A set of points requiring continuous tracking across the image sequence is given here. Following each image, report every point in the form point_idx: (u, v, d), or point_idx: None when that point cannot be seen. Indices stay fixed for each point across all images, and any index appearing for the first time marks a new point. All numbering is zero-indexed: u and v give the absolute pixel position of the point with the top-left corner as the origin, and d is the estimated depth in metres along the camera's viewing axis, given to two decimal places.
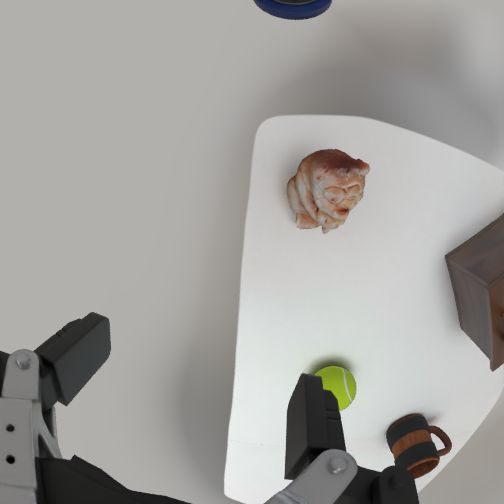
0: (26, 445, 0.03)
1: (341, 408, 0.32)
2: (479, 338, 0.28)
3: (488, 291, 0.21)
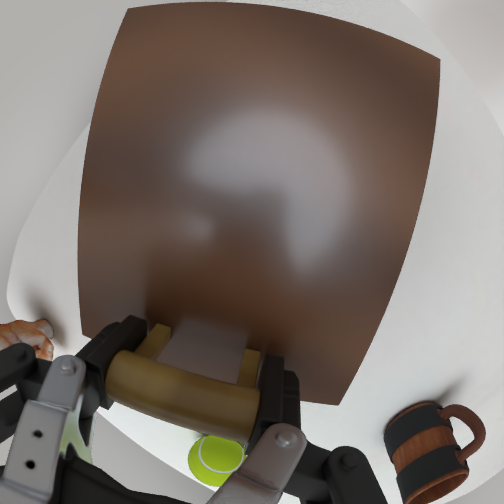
0: (51, 454, 0.03)
1: (223, 482, 0.23)
2: None
3: (84, 335, 0.13)
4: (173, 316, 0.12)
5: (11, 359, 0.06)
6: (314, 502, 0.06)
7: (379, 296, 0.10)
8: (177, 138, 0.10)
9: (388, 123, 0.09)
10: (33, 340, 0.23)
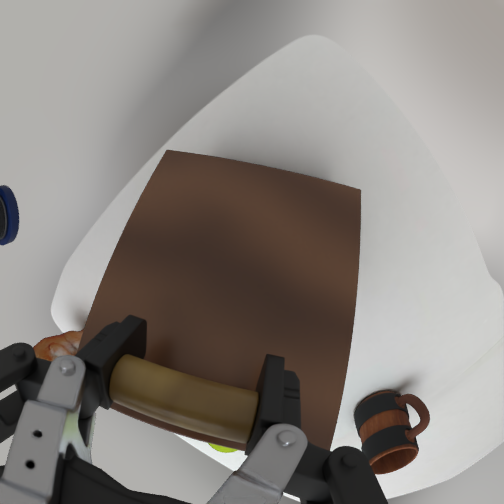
0: (51, 454, 0.03)
1: None
2: None
3: None
4: (169, 368, 0.12)
5: (11, 359, 0.06)
6: (314, 502, 0.06)
7: (341, 345, 0.13)
8: (193, 236, 0.16)
9: (328, 231, 0.16)
10: None
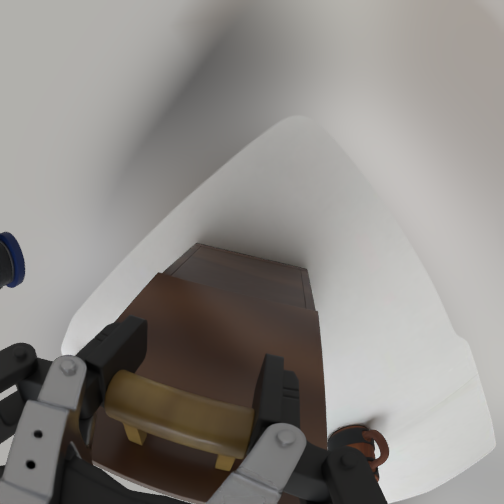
0: (51, 454, 0.03)
1: None
2: None
3: None
4: None
5: (11, 360, 0.06)
6: (313, 502, 0.06)
7: (317, 414, 0.13)
8: (180, 332, 0.17)
9: (294, 337, 0.19)
10: None
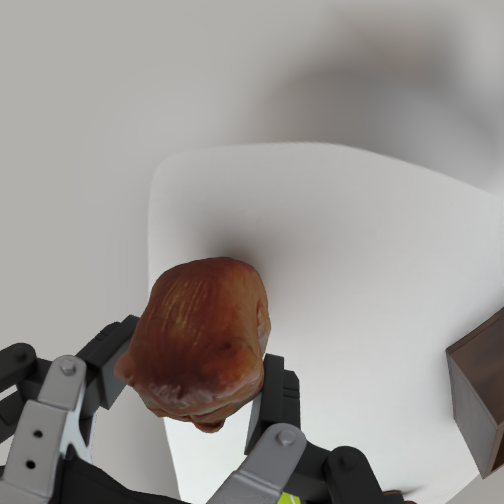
0: (51, 454, 0.03)
1: None
2: (472, 447, 0.16)
3: None
4: None
5: (11, 360, 0.06)
6: (314, 502, 0.06)
7: None
8: None
9: None
10: None
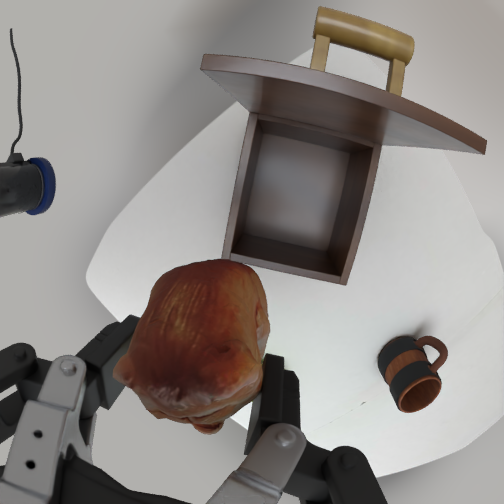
0: (51, 454, 0.03)
1: None
2: None
3: (206, 55, 0.10)
4: None
5: (11, 359, 0.06)
6: (314, 502, 0.06)
7: None
8: None
9: None
10: None
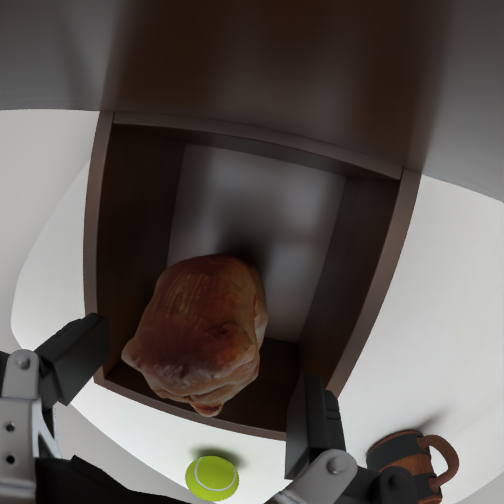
0: (26, 445, 0.03)
1: (217, 498, 0.24)
2: None
3: None
4: None
5: None
6: None
7: None
8: None
9: None
10: None
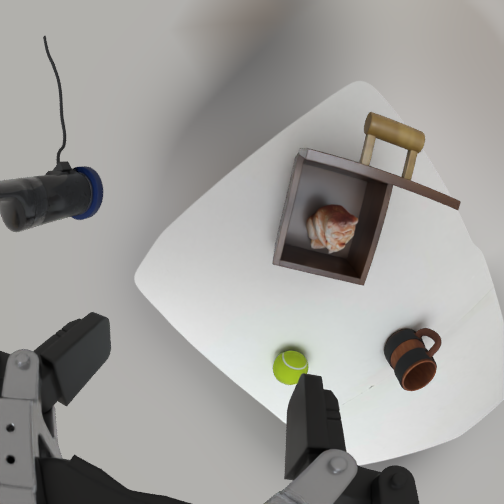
0: (26, 445, 0.03)
1: (297, 377, 0.49)
2: None
3: (310, 150, 0.19)
4: None
5: None
6: None
7: None
8: None
9: None
10: None
